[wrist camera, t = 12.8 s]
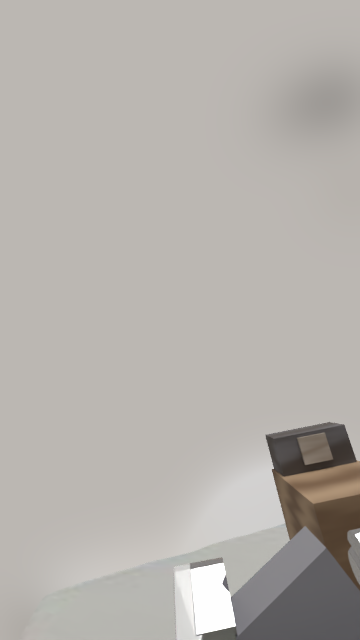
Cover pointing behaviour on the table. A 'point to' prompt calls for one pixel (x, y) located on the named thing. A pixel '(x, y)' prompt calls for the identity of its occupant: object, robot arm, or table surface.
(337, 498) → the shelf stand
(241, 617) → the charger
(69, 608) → the table surface
